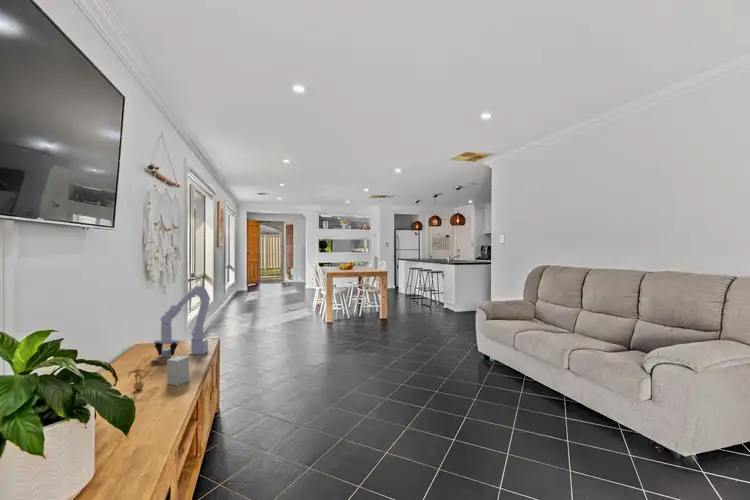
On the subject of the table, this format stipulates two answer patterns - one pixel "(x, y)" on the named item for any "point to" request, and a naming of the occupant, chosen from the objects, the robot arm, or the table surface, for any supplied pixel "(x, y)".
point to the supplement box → (177, 370)
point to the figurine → (139, 384)
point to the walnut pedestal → (160, 360)
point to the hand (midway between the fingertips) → (166, 355)
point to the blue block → (166, 353)
